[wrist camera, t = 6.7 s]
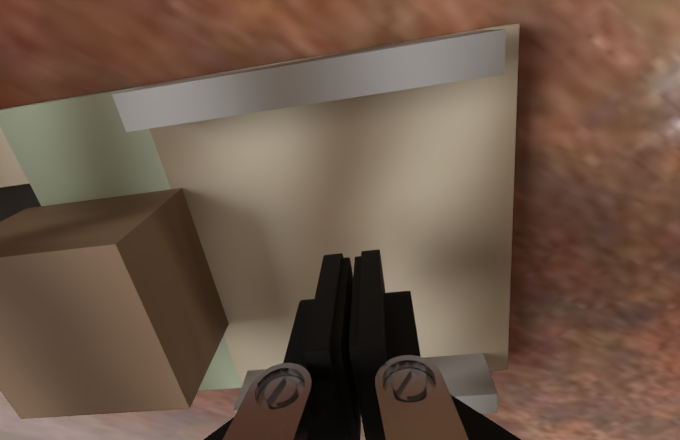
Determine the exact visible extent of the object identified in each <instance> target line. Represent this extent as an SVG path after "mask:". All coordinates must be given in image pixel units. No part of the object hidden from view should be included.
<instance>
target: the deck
mask: <svg viewBox="0 0 680 440" xmlns="http://www.w3.org/2000/svg"><path fill="white" fill-rule="evenodd" d="M519 26H520V24H508V25H502V26H496V27H490V28H484V29H478V30H472V31H466V32H460V33H454V34H448V35H442V36H436V37H430V38H424V39H418V40H412V41H406V42H400V43H394V44H388V45H382V46H376V47H370V48H364V49H358V50H352V51H346V52H340V53H334V54H328V55H322V56H316V57H310V58H304V59H298V60H292V61H286V62H280V63H274V64H268V65H262V66H256V67H250V68H244V69H238V70H232V71H226V72H220V73H214V74H208V75H202V76H196V77H190V78H184V79H178V80H172V81H166V82H160V83H154V84H148V85H142V86H136V87H130V88H124V89H118V90H112V91H106V92H100V93H94V94H88V95H82V96H76V97H70V98H64V99H58V100H52V101H46V102H40V103H34V104H29V105H23V106H17V107H11V108H5V109H0V222H1V221H3V220H5V219H7V218H9V217H11V216H13V215H15V214H16V213H18V212H20V211H22V210H24V209H26V208H32V207H40V206H48V205H55V204H63V203H71V202H78V201H86V200H93V199H101V198H109V197H116V196H124V195H132V194H139V193H147V192H155V191H162V190H170V189H177V188H182V190H183V193H184V196H185V198H186V201H187V204H188V207H189V210H190V213H191V216H192V219H193V222H194V224H195V227H196V230H197V233H198V236H199V239H200V242H201V245H202V248H203V251H204V253H205V256H206V259H207V262H208V265H209V268H210V271H211V274H212V277H213V279H214V282H215V285H216V288H217V291H218V294H219V297H220V300H221V303H222V306H223V308H224V311H225V314H226V317H227V320H228V323H229V325H228V327H227V329H226V331H225V333H224V336H223V338H222V340H221V342H220V344H219V346H218V349H217V351H216V353H215V355H214V357H213V359H212V361H211V364H210V366H209V368H208V370H207V372H206V374H205V376H204V379H203V381H202V383H201V385H200V387H199V389H198V391H201V390H216V389H230V388H241V391H240V394H239V397H238V399H237V402H236V405H235V408H234V412H235V415H236V413H237V411H238V409H239V407H240V405H241V403H242V401H243V399H244V397H245V395H246V393H247V391H248V389H249V387H250V385H251V384H252V382H253V381H254V380H255V378H256V377H257V376H258V375H259V374H261V373H262V372H263V371H264V370H266V369H268V368H270V367H272V366H274V365H278V364H281V363H283V362H284V358H285V354H286V350H287V347H288V343H289V339H290V335H291V331H292V328H293V324H294V320H295V316H296V312H297V309H298V305H299V302H300V301H301V300H307V299H315V294H316V289H317V284H318V280H319V275H320V270H321V265H322V261H323V256H324V255H329V254H339V253H342V254H343V257H344V258H347V257H350V261H351V266H352V272H353V275H354V260H355V257H357V256H361V251H369V250H378V249H380V255H381V262H382V270H383V278H384V285H385V293H388V292H400V291H410V292H411V298H412V304H413V310H414V317H415V323H416V330H417V336H418V342H419V349H420V355H421V357H423V358H425V359H427V360H430V361H431V362H432V363H433V364H435V365H436V366H437V367H438V369H439V370H440V372H441V373H442V376H443V378H444V380H445V383H446V385H447V388H448V390H449V393H450V394H451V395H452V396H454V397H455V398H457V399H459V400H460V401H462V402H463V403H465V404H466V405H468V406H469V407H471V408H473V409H474V410H476V411H477V412H479V413H480V414H490V413H497V410H498V393H497V390H496V388H495V385H494V382H493V380H492V377H491V374H490V372H489V371H494V370H507V369H508V341H509V312H510V284H511V255H512V226H513V198H514V169H515V141H516V112H517V83H518V55H519ZM361 421H362V418H361Z"/></svg>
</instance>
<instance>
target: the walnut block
mask: <svg viewBox="0 0 680 440" xmlns="http://www.w3.org/2000/svg"><path fill="white" fill-rule="evenodd" d="M228 325H229V323H228V320H227V317H226V314H225V311H224V308H223V306H222V303H221V300H220V297H219V294H218V291H217V288H216V285H215V282H214V279H213V277H212V274H211V271H210V268H209V265H208V262H207V259H206V256H205V253H204V251H203V248H202V245H201V242H200V239H199V236H198V233H197V230H196V227H195V224H194V222H193V219H192V216H191V213H190V210H189V207H188V204H187V201H186V198H185V196H184V193H183V190H182V188H177V189H170V190H162V191H155V192H147V193H139V194H132V195H124V196H116V197H109V198H101V199H93V200H86V201H78V202H71V203H63V204H55V205H48V206H40V207H32V208H26V209H24V210H22V211H20V212H18V213H16V214H15V215H13V216H11V217H9V218H7V219H5V220H3V221H1V222H0V391H1V392H2V393H3V395H4V396H5V398H6V399H7V400H8V402H9V403H10V404H11V406H12V407H13V409H14V410H15V411H16V413H17V414H18V416H19V417H20V418H21V419H27V418H43V417H59V416H75V415H92V414H108V413H124V412H140V411H157V410H173V409H189V408H190V407H191V404H192V402H193V400H194V398H195V396H196V394H197V392H198V389H199V387H200V385H201V383H202V381H203V379H204V376H205V374H206V372H207V370H208V368H209V366H210V364H211V361H212V359H213V357H214V355H215V353H216V351H217V349H218V346H219V344H220V342H221V340H222V338H223V336H224V333H225V331H226V329H227V327H228Z"/></svg>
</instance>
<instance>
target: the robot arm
mask: <svg viewBox="0 0 680 440" xmlns="http://www.w3.org/2000/svg"><path fill="white" fill-rule="evenodd" d="M361 418H362V423H363V428H364V433H365V438H366V440H521V439H519V438H517V437H516V436H514V435H513V434H511V433H510V432H508V431H507V430H505V429H504V428H502V427H500V426H499V425H497V424H496V423H494V422H493V421H491V420H490V419H488V418H486V417H485V416H483V415H482V414H480V413H479V412H477V411H476V410H474V409H473V408H471V407H469V406H468V405H466V404H465V403H463V402H462V401H460V400H459V399H457V398H455V397H454V396H452V395H451V394H450V393H449V390H448V388H447V385H446V383H445V380H444V378H443V376H442V373H441V372H440V370H439V369H438V367H437V366H436V365H435V364H433V363H432V362H431V361H430V360H427V359H425V358H423V357H421V355H420V349H419V342H418V336H417V330H416V323H415V317H414V310H413V304H412V298H411V292H410V291H400V292H388V293H385V285H384V278H383V270H382V262H381V255H380V249H378V250H369V251H361V256H357V257H355V260H354V275H353V272H352V266H351V261H350V257H347V258H344V257H343V254H342V253H339V254H329V255H324V256H323V261H322V265H321V270H320V275H319V280H318V284H317V289H316V294H315V299H307V300H301V301H300V302H299V305H298V309H297V312H296V316H295V320H294V324H293V328H292V331H291V335H290V339H289V343H288V347H287V350H286V354H285V358H284V362H283V363H281V364H278V365H274V366H272V367H270V368H268V369H266V370H264V371H263V372H262V373H261V374H259V375H258V376H257V377H256V378H255V380H254V381H253V382H252V384H251V385H250V387H249V389H248V391H247V393H246V395H245V397H244V399H243V401H242V403H241V405H240V407H239V409H238V411H237V413H236V415H235V417H234V418H232V419H231V420H230V421H228V422H227V423H226V424H224V425H223V426H222V427H220V428H219V429H217V430H216V431H215V432H213V433H212V434H211V435H209V436H208V437H207V438H205V439H204V440H360V431H361Z"/></svg>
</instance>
